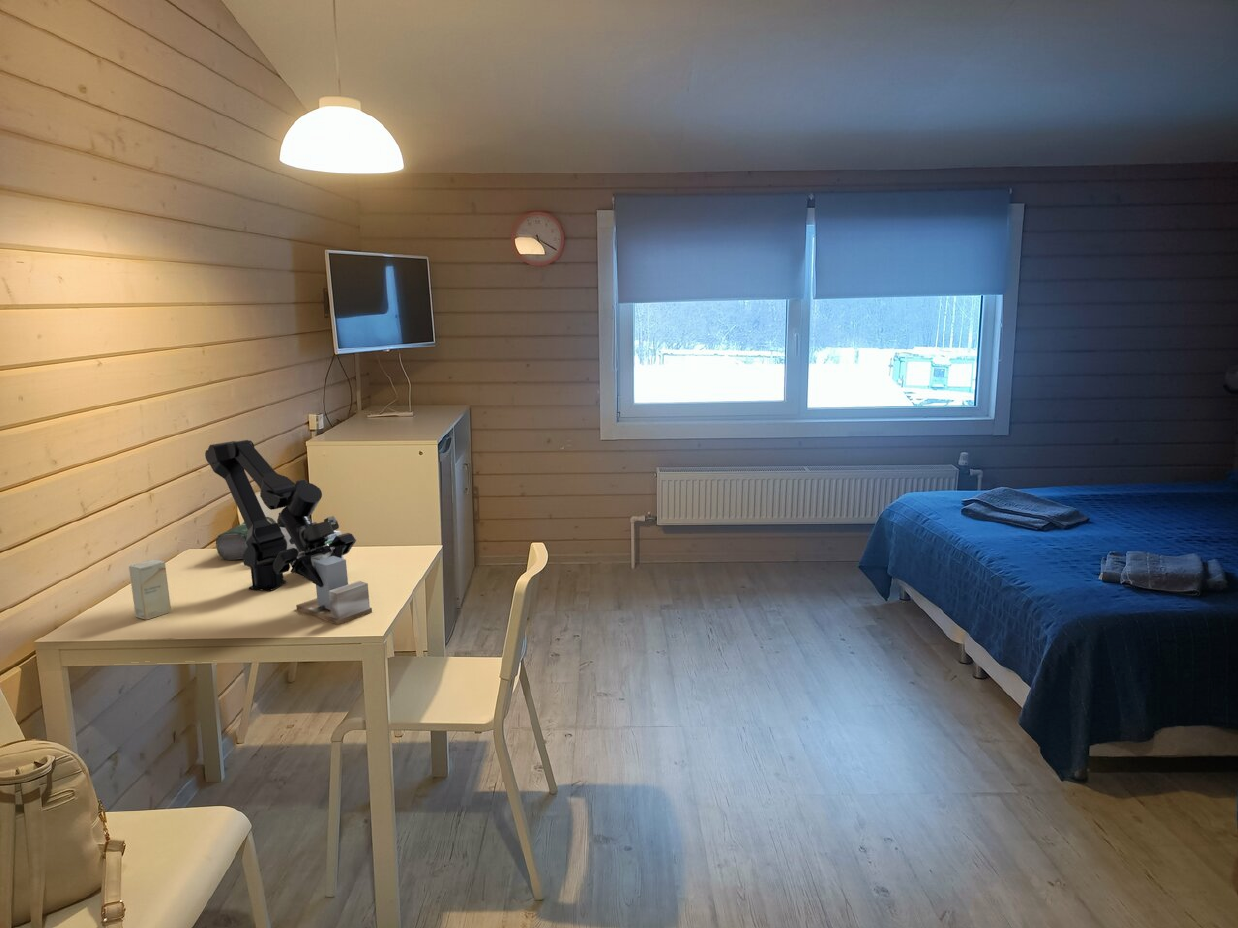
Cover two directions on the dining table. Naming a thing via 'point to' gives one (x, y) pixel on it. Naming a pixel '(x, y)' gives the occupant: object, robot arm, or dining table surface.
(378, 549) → the dining table surface
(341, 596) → the block on stand
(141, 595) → the skincare box
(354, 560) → the dining table surface
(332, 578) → the blue-gray square block
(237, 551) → the coffee jar
